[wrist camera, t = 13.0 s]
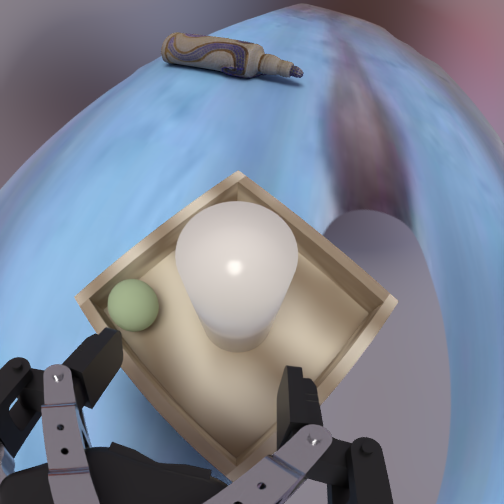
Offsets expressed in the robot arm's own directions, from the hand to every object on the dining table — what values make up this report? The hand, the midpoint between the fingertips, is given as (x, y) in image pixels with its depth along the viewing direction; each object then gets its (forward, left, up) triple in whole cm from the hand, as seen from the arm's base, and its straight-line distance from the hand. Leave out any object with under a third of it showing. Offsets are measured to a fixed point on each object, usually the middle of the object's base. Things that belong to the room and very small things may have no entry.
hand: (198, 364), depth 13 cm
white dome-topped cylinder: (-5, -2, -8) cm, 10 cm away
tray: (-5, -2, -9) cm, 10 cm away
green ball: (+1, -8, -8) cm, 11 cm away
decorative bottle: (-32, -34, -9) cm, 47 cm away
